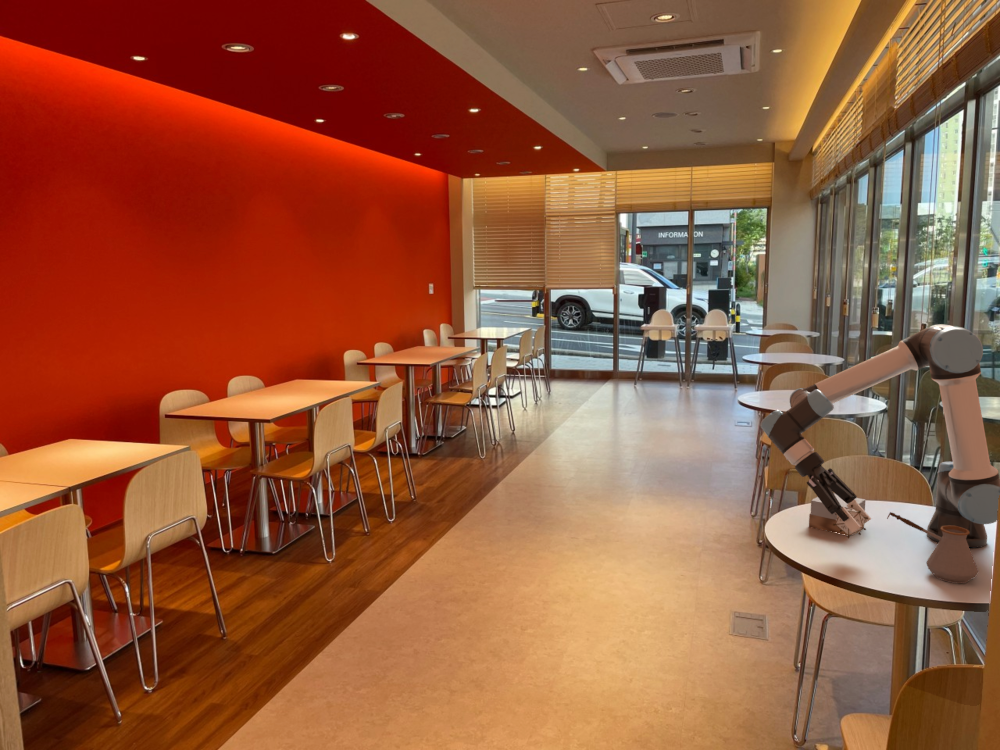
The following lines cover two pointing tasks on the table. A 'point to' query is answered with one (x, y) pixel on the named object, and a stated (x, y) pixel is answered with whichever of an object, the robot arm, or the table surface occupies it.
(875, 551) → the table surface
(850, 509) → the game die
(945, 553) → the coffee pot
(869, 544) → the table surface
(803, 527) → the table surface
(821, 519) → the tower bottom slab
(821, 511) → the tower top slab
